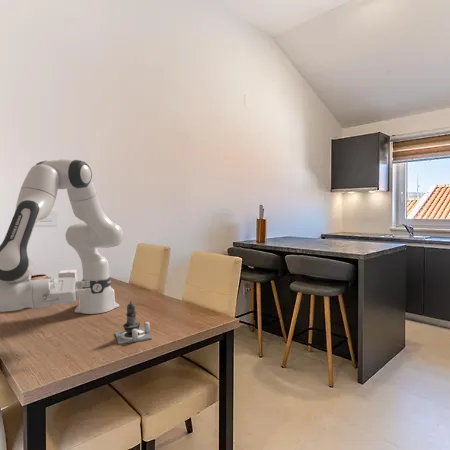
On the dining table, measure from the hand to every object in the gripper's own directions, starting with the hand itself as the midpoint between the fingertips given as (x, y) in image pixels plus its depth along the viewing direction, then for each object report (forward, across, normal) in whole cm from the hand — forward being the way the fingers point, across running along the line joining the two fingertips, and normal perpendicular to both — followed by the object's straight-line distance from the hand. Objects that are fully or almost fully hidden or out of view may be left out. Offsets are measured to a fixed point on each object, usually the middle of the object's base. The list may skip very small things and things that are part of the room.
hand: (90, 287), depth 115 cm
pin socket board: (+13, -2, +19) cm, 23 cm away
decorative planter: (-23, +61, +21) cm, 69 cm away
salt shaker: (+13, -2, +18) cm, 22 cm away
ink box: (-10, +80, +22) cm, 83 cm away
